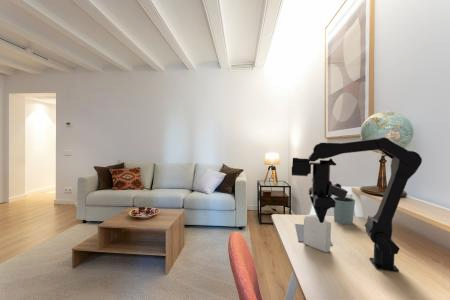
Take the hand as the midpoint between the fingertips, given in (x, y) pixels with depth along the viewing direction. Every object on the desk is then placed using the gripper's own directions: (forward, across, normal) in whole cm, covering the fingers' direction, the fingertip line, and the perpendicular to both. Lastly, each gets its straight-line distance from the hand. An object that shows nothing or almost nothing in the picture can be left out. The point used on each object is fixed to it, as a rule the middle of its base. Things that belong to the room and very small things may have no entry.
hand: (319, 219), depth 82 cm
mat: (+13, +19, 0) cm, 23 cm away
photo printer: (+13, +6, 0) cm, 14 cm away
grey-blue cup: (+13, +40, -18) cm, 46 cm away
